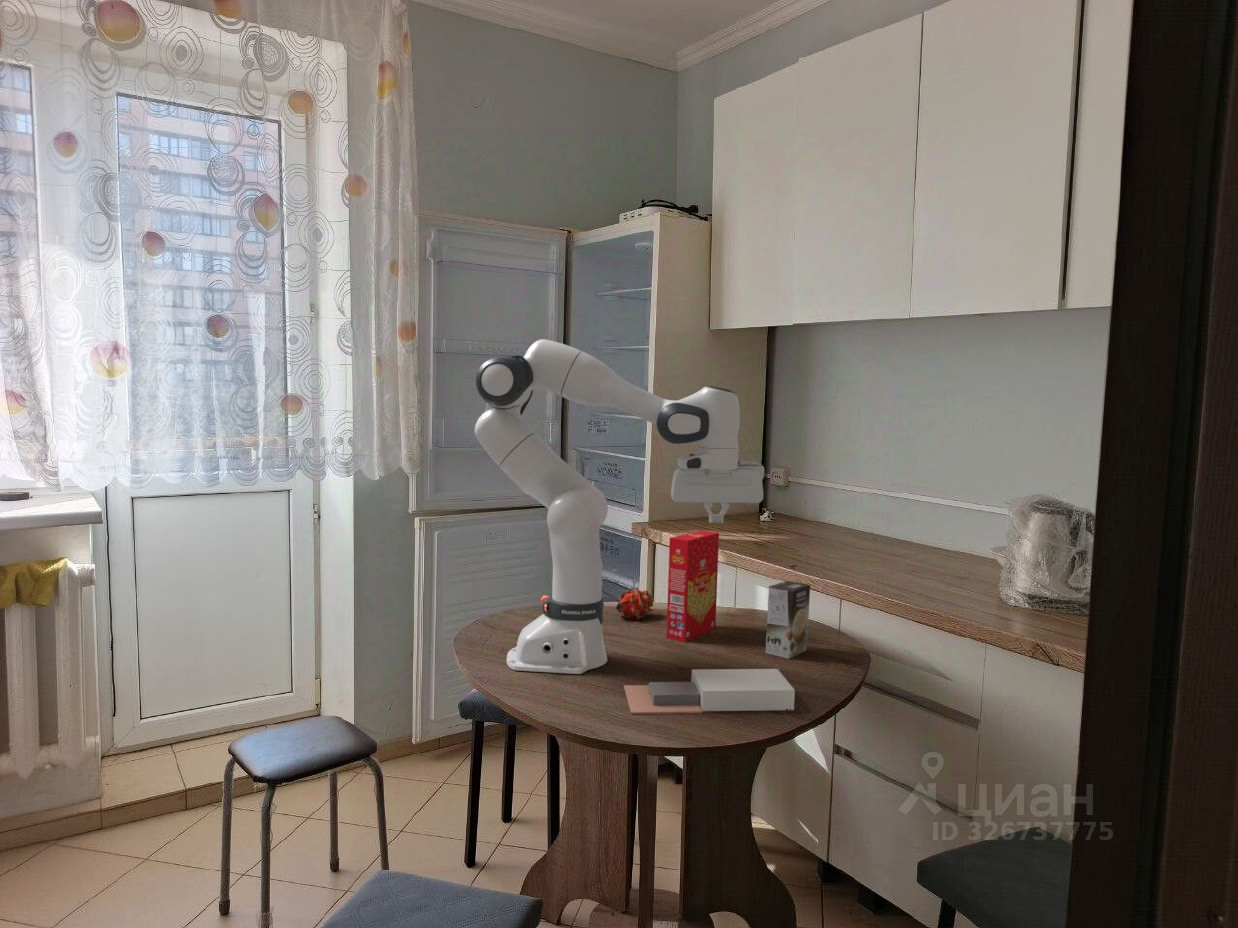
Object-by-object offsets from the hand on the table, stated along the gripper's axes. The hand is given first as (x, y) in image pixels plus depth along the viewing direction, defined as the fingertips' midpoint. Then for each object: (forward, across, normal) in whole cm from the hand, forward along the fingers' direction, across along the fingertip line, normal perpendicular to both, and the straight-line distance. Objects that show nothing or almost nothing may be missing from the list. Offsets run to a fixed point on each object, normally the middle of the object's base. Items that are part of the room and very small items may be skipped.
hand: (716, 522), depth 185 cm
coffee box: (+32, -19, -8) cm, 38 cm away
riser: (+32, -2, +22) cm, 39 cm away
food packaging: (+32, +1, -22) cm, 39 cm away
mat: (+32, +14, +22) cm, 41 cm away
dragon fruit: (+32, +14, -36) cm, 51 cm away
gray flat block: (+32, +12, +22) cm, 40 cm away
